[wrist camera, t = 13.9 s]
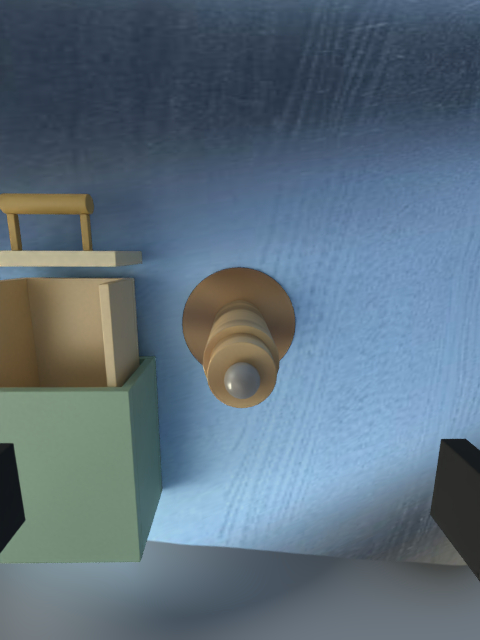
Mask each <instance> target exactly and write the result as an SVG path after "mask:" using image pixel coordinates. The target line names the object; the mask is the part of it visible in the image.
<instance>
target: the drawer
mask: <svg viewBox="0 0 480 640" xmlns="http://www.w3.org/2000/svg"><path fill="white" fill-rule="evenodd" d="M0 209H1V210H2V211H3V212H4V213H6V214H7V220H8V227H9V235H10V242H11V249H12V251H0V266H62V267H117V266H125V265H134V264H142V252H141V251H93V249H92V238H91V226H90V215H88V214H92V213H93V210H94V204H93V200H92V197H91V196H90V195H89V194H1V195H0ZM17 214H80V222H81V233H82V243H83V251H22V243H21V235H20V227H19V220H18V215H17ZM139 366H140V365H139V349H138V332H137V316H136V300H135V284H134V278H16V279H7V280H0V388H4V387H122V386H123V385H124V384H125V382H126V381H127V380H128V379H129V378H130V377H131V375H132V374H133V373H134V372H135V371H136V369H137V368H138V367H139Z"/></svg>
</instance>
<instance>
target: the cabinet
mask: <svg viewBox="0 0 480 640" xmlns="http://www.w3.org/2000/svg"><path fill="white" fill-rule="evenodd" d="M139 365H140V366H139V367H138V368H137V369H136V371H135V372H134V373H133V374H132V375H131V377H130V378H129V379H128V380H127V381H126V382H125V384H124V385H123V386H122V387H4V388H0V443H13V444H14V450H15V457H16V463H17V469H18V475H19V482H20V488H21V494H22V501H23V507H24V513H25V519H26V520H25V522H24V523H23V524H22V526H21V527H20V528H19V530H18V531H17V532H16V534H15V535H14V536H13V537H12V539H11V540H10V541H9V543H8V544H7V545H6V547H5V548H4V549H3V551H2V552H1V553H0V563H79V562H81V563H82V562H140V561H141V558H142V555H143V551H144V548H145V545H146V542H147V538H148V535H149V532H150V528H151V525H152V522H153V519H154V515H155V512H156V509H157V506H158V502H159V499H160V496H161V493H162V476H161V456H160V436H159V417H158V397H157V378H156V358H155V356H139Z"/></svg>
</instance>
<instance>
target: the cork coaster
mask: <svg viewBox="0 0 480 640" xmlns="http://www.w3.org/2000/svg"><path fill="white" fill-rule="evenodd" d="M236 300H242V301H247V302H250V303H252V304H253V305H255V306H256V307H257V308H258V309H259V310H260V312H261V313H262V315H263V317H264V320H265V322H266V324H267V327H268V329H269V331H270V334H271V336H272V338H273V340H274V343H275V345H276V347H277V350H278V353H279V361H280V360H281V359H282V358H283V356H284V355H285V354H286V352H287V351H288V349H289V347H290V345H291V342H292V340H293V336H294V332H295V314H294V309H293V306H292V303H291V301H290V298H289V296H288V295H287V293H286V292H285V290H284V289H283V288H282V287H281V285H280V284H279V283H277V282H276V281H275V280H274V279H273V278H271V277H270V276H268V275H266V274H264V273H262V272H260V271H257V270H254V269H249V268H241V267H237V268H228V269H224V270H221V271H218V272H216V273H213V274H211V275H210V276H208V277H207V278H205V279H204V280H203V281H202V282H200V283H199V284H198V285H197V286H196V288H195V289H194V290H193V291H192V293H191V294H190V296H189V298H188V300H187V302H186V305H185V308H184V312H183V320H182V326H183V334H184V338H185V341H186V343H187V346H188V348H189V350H190V351H191V353H192V354H193V356H194V357H195V358H196V359H197V360H198V361H199V362H200V363H201V364H202V365H203V355H204V351H205V348H206V345H207V342H208V338H209V335H210V332H211V329H212V325H213V322H214V319H215V316H216V314H217V312H218V311H219V309H220V308H221V307H222V306H224V305H225V304H227V303H229V302H232V301H236Z"/></svg>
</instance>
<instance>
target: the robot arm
mask: <svg viewBox="0 0 480 640" xmlns="http://www.w3.org/2000/svg"><path fill="white" fill-rule="evenodd" d="M430 515H431V516H432V518H433V519H434V520H435V522H436V523H437V524H438V526H439V527H440V529H441V530H442V531H443V533H444V534H445V535H446V537H447V538H448V539H449V541H450V542H451V543H452V545H453V546H454V547H455V549H456V550H457V551H458V553H459V554H460V555H461V557H462V558H463V559H464V561H465V562H466V563H467V565H468V566H469V568H470V569H471V570H472V572H473V573H474V574H475V576H476V577H477V578H478V580H479V581H480V450H479V449H477V448H476V447H475V446H474V445H472V444H471V443H470V442H469V441H468V440H466V439H441V444H440V451H439V458H438V465H437V471H436V478H435V485H434V492H433V498H432V505H431V512H430ZM25 520H26V519H25V513H24V507H23V501H22V494H21V488H20V482H19V475H18V469H17V463H16V457H15V450H14V444H13V443H0V553H1V552H2V551H3V549H4V548H5V547H6V545H7V544H8V543H9V541H10V540H11V539H12V537H13V536H14V535H15V534H16V532H17V531H18V530H19V528H20V527H21V526H22V524H23V523H24V522H25Z"/></svg>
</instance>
